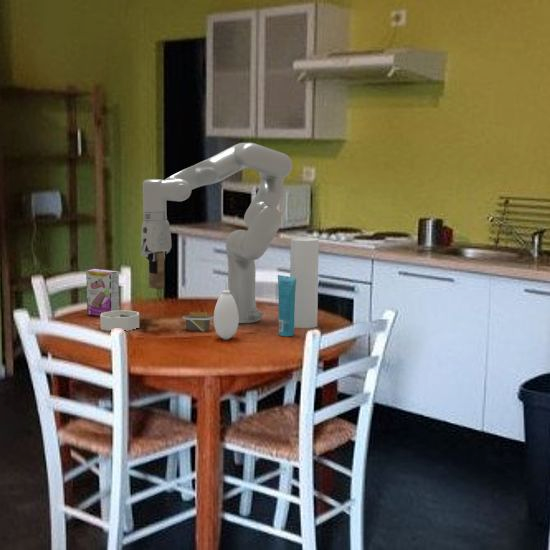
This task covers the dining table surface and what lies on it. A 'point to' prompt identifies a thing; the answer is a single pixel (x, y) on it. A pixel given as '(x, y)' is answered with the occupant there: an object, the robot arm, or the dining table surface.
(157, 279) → the brown rectangular block
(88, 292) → the candy bar box
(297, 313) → the cylinder container
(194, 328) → the grey basket
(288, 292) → the tube
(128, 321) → the grey round dish
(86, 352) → the dining table surface
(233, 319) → the sauce bottle
